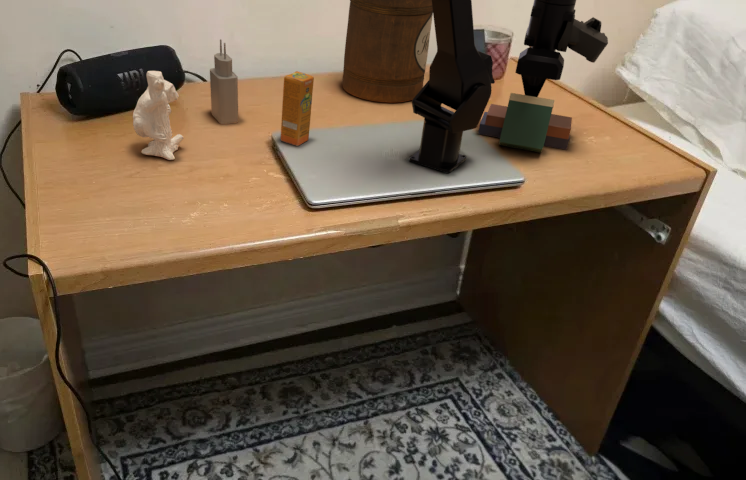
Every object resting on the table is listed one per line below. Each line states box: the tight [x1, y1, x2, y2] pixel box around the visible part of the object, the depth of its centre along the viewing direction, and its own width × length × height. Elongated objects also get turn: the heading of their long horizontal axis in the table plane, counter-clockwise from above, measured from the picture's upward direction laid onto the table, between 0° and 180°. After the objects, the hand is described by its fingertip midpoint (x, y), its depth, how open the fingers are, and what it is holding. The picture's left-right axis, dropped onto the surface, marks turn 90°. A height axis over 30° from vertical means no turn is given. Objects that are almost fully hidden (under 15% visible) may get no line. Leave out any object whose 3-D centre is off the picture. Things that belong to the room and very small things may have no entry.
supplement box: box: [280, 70, 315, 147], centre depth 97 cm, size 3×3×10 cm
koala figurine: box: [132, 70, 184, 161], centre depth 90 cm, size 8×7×12 cm
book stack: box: [477, 103, 573, 151], centre depth 107 cm, size 6×14×4 cm, turn 72°
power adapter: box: [209, 38, 239, 125], centre depth 103 cm, size 3×5×12 cm, turn 26°
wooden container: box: [341, 0, 434, 104], centre depth 116 cm, size 15×15×22 cm
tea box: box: [498, 92, 555, 153], centre depth 101 cm, size 7×6×8 cm
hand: (530, 104), depth 104 cm, fingers closed
